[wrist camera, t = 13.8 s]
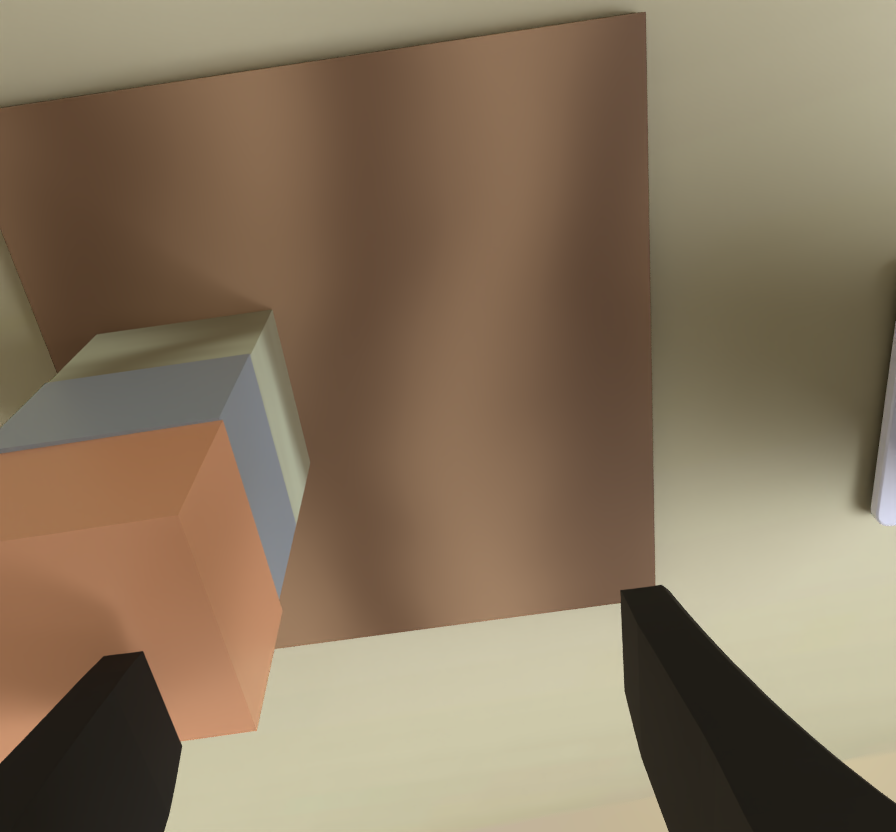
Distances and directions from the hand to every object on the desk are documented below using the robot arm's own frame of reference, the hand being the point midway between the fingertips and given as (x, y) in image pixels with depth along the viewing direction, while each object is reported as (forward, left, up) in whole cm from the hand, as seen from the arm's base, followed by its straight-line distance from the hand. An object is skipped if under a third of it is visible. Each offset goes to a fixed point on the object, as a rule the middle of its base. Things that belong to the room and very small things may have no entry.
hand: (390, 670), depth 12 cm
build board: (+1, 0, -10) cm, 10 cm away
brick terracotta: (+5, -1, -4) cm, 6 cm away
